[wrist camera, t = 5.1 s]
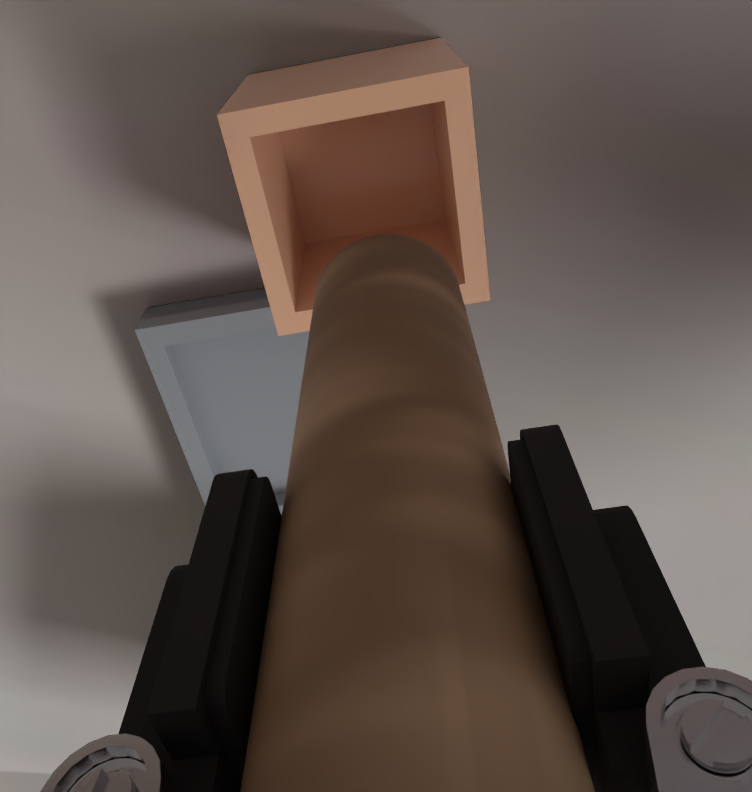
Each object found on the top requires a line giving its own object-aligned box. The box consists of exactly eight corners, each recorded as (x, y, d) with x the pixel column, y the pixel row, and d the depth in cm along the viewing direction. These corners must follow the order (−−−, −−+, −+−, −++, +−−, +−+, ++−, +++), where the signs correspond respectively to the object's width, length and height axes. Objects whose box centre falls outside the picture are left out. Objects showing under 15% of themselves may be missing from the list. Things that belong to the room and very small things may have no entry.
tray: (403, 263, 32) (406, 283, 30) (436, 469, 38) (440, 496, 37) (147, 308, 33) (134, 330, 31) (221, 502, 39) (214, 530, 37)
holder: (441, 37, 27) (468, 66, 21) (462, 227, 31) (490, 300, 25) (247, 74, 28) (216, 115, 21) (293, 257, 32) (278, 336, 25)
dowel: (451, 221, 16) (668, 929, 5) (467, 355, 18) (649, 1100, 7) (299, 247, 17) (137, 973, 5) (330, 376, 19) (267, 1124, 7)
